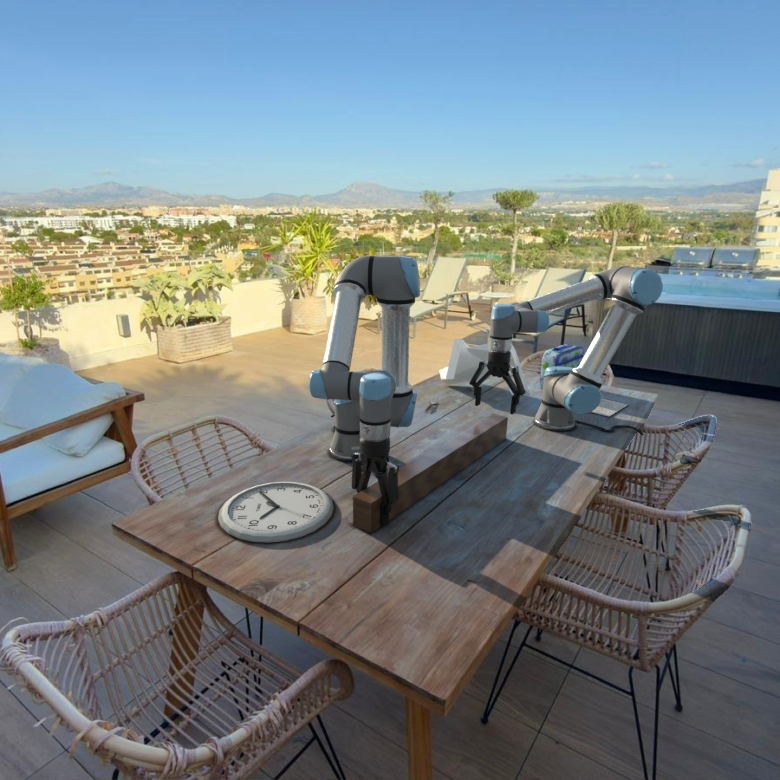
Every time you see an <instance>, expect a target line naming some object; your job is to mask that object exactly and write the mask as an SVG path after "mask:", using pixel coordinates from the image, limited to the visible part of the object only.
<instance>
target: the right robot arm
mask: <svg viewBox="0 0 780 780" xmlns="http://www.w3.org/2000/svg"><path fill="white" fill-rule="evenodd" d="M663 288H664V284H663V281H662V277H661V276H660V274H659V273H658V272H657V271H655V270H654V269H650V268H646V267H637V266H630V265H621V266H616V267H613V268H609V269H607V270H604V271H601V272H598V273H596V274H593V275H591V276H589V279H587V280H584V281H580V282H578V283H575V284H573V285H569V286H566V287H564V288H561V289H557V290H555V291H552V292H549V293H546V294H542V295H540V296H537V297H534V298H530V299H529V300H525V301H523V302H520V303H497V304H494V305H493V306H492V308H491V314H490V327H489V328H490V329H489V341H488V344H489V349H490V350H489V352H488V363H487V362H485V361H484V360H483V361H481V362H479V366H478V369H477V370H476V372H475V374H474V376H473V377H472V379H471V381H470V382H468V384H469V385H470V386H472V387H473V397H474V398H475V400H474V406H475V407H478V406H479V405H481V400H482V386H481V385H482V384H483V383H484V382H485V381H486V380H487V379H489V377H490V376H492V377H497V378H499V379H501V378H502V380H503V381H505V383H506V384H507V386H509V387H508V389H509V388H510V389H511V391H512V392H513V394H514V395H511V402H510V411H509V412H510V413H509V414H510V415H514V414H516V411H517V406H518V405H519V404H520V397H521V396H524V395H526V394H525V393H526V392H525V389H524V386H523V383H522V381H521V378H520V375H519V367H518V366H511V365H510V364H511V360H510V357H511V352H510V350H511V346H512V345H513V335H514V334H539V333H541V334H542V333H545V332H546V331H548V329H549V326H550V316H551V315H553V314H557V313H559V312H563V311H565V310H568V309H571V308H574V307H577V306H580V305H583V304H586V303H589V302H591V301H592V302H593V301H595V300H596V301H598V302H601V301H603V300H607V299H609V300H610V304H611V305H610V308H609V310H608V312H607V313H606V314H605V317H604V319H603V321H602V322H601V325H600V326H599V328H598V330H597V332H596V333H595V335H594V337H593V339H592V340H591V343H590V344H589V346H588V348H587V350H586V351H585V353H584V357H583V359H582V361H581V363H580V364H579V366H578V367H577V368H572V367H548V368H546V370H545V373H544V381H543V390H542V394H541V402H540V405H539V407H538V410H537V411H536V413H535V416H534V424H535V425H536V426H537V427H539V428H542V429H544V430H549V431H556V432H567V431H572V430H574V429H575V428H576V424H578V425H582V426H586V427H590V428H594V429H597V430H600V431H602V432H605V433H612V432H614V431H615V429H630V430H634V431H635V432H637V433H638V434H640V436H645V434H644V432H643V431H642V430H640V429H639V428H637V427H635V426H633V425H625V424H619V425H618V424H616V425H612V426H611V429H607V428H604V427H602V426H600V425H596V424H592V423H588V422H584V421H580V420H577V419H576V418H575V417H576V416H575V415H587V414H590V413H592V411H593V410H595V409H596V408H597V406H598V405H599V403H600V401H601V399H602V395H601V391H600V390H601V388H602V386H603V384H604V383H603V380H602V377H603V376H604V374H605V372H606V370H607V368H608V367H609V364H610V362H611V361H612V359H613V358H614V355H615V354H616V352H617V350H618V349H619V346H620V345H621V343H622V341H623V339H624V338H625V336H626V334H627V332H628V330H629V329H630V327H631V325H632V323H633V322H634V320H635V318H636V317H637V316H639V315H641V314H643V313H644V312H645V310H646V308H647V307H648V306H650V305H652V304H654V303H656V302H657V301H658V300H659V299H660V297H661V295H662V292H663ZM486 366H487V368H488V371H487V372H486V373H485V375H484V376H483V377H482V378H481V379H480V380H479V381H478V382H476V381H477V379H478V377H479V376H480V374H481V372H482V371H483V369H484V368H485V367H486ZM509 371H510V374H509V373H508V372H509ZM511 374H512V375H511ZM510 375H511V376H510ZM512 377H513V378H512ZM511 378H512V379H511Z"/></svg>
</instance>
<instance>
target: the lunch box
mask: <svg viewBox="0 0 780 780" xmlns="http://www.w3.org/2000/svg"><path fill="white" fill-rule="evenodd" d="M584 352H585V351H584V347H583V346H580V345H579V346H578V345H573V344H562V345H558V346H554V347H552V348H549V349H546V351H545V352H544V353H543V354H542V358H541V363H540V373H539V374H540V375H539V377H540V378H539V389H540V390H542V391H543V381H544V373H545V370H546V368H548V367H572V368H577V367H578V366H579V364H580V363H581V361H582V359H583V357H584V355H585V353H584Z"/></svg>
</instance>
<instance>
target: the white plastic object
mask: <svg viewBox="0 0 780 780" xmlns="http://www.w3.org/2000/svg"><path fill="white" fill-rule="evenodd" d="M489 350H490V349H489V342H487V343H483V344H479V345H473V346H469V345H468V343H466V342H465V340H464V339H463V338H460V339H458V338H454V340H453V344H452V349H451V353H450V357H449V362H448V366H446V367H444V368H442V369H440V370H439V371H438V372H439V376H440V381H442V383H443V384H444V385H445V386H449V385H458V384H467V383H468V384H469V382H470V381H471V379H472V377H473V376H474V374H475V372H476V370H477V369H478V366H479V362H481V361H483V360H484V361H485V362H487V363H488V352H489ZM510 352H511V357H510V361H511V360H513V363H514V367H516V366H518V367H519V375H520V378H521V381H522V383H523V386H524V389H525V392H526V393H525V394H524V395H525V396H526V397H528V396H531V395H530V390H529V388H528V387H529V386H528V384H527V381H526V378H525V375H524V371H523V369H522V368H523V367H522V366H521V362H520V359H519V355H518V352H517V349H516V347H515V346H514V345H513V344H512V346H511V350H510ZM487 371H488V368H487V366H486V367H485V368H484V369H483V371H482V372H481V374H480V376H479V377H478V379H477V381H476V382H478V381H479V380H480V379H481V378H482V377H483V376H484V375H485V373H486V372H487ZM508 373H509V374H510V376H511V379H512V380H513V378H512V375H511V371H509V372H508ZM507 386H508V385H507ZM508 390H509V393H510V394H511V396H513V395H514V394H513V392H512V391H511V389H510V388H509V386H508Z"/></svg>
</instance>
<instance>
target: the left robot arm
mask: <svg viewBox="0 0 780 780" xmlns="http://www.w3.org/2000/svg"><path fill="white" fill-rule="evenodd" d="M420 280H421V279H420V271H419V264H418V262H417V260H416V258H414V257H411V256H402V255H362V256H358V257H357V258H355V259H353V260H351V261H350V262H349V263H348V264H347V265H346V266H345V267H344V268H343V269H342V270H341V271H340V273H339V274H338V276H337V277H336V280H335V282H334V285H333V291H332V295H333V297H334V302H333V308H332V312H331V313H332V314H331V318H330V324H329V328H328V333H327V338H326V343H325V348H324V353H323V358H322V362H321V368H320V369H314V370H312V371H311V373H310V375H309V382H308V389H309V393H310V395H311V396H312V398H315V399H320V400H327V401H328V400H334V402H333V404H334V413H333V414H331V415H330V418H334V426H332V428H331V431H332V432H333V437H332V440H331V443H330V446H329V454H330V456H331V457H332V458H334V459H336V460H338V461H342V462H352V466H351V467H352V470H351V489H352V490H355V491H356V494H357V493H359V492H361V491H362V490H364V489H366V488H368V486H369V482H370V479H371V476H372V473H373V474H374V477H375V478H376V480H377V482H378V483H379V487H380V491H381V496H382V500H383V501H382V502H381V503H380V526H381V527H384V526H386V525H387V524H388V523H389V522H390V520H389V513H391V504H393V503H394V502H396V501H397V500H398V470H399V469H400V465H399V464H398V463H397V464H394V463H392V462H391V459H390V457H389V455H390V452H391V428H408V427H411V425H412V424H413V420H414V415H415V409H416V403H417V396H418V392H416V391H413V390H414V389H413V388H414V387H413V385H412V384H411V383H410V382H409V365H410V364H409V362H410V361H409V360H410V359H409V358H410V356H409V355H410V324H411V323H410V320H411V317H410V316H411V314H410V313H411V308H412V307H413V306H414V305H415V303H416V298H419V297H420V296H421V281H420ZM367 296H375V297H376V303H377V304H378V305H379V306H380V307H381V353H380V355H381V358H380V359H381V361H380V362H381V365H380V366H381V368H380V369H376V370H374V371H373V372H367V371H350V370H351V366H352V365H351V364H352V360H353V353H354V348H355V340H356V335H357V329H358V323H359V319H360V318H359V316H360V313H361V312H360V311H361V306H362V304H363V303H364V302H365V300H366V297H367ZM387 476H388V477H387Z"/></svg>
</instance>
